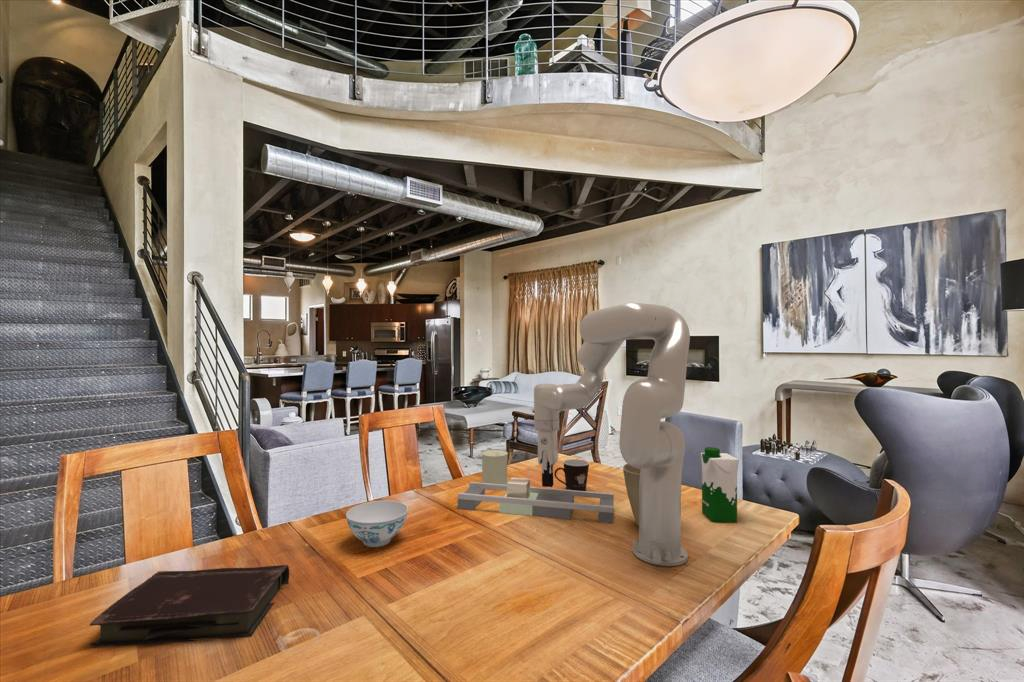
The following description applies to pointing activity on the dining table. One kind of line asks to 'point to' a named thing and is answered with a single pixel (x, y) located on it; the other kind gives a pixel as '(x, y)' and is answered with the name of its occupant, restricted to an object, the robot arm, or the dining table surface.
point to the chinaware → (376, 521)
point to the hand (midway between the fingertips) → (547, 485)
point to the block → (518, 488)
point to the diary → (191, 606)
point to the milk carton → (719, 485)
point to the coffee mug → (575, 474)
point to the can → (494, 467)
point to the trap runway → (538, 501)
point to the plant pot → (632, 488)
